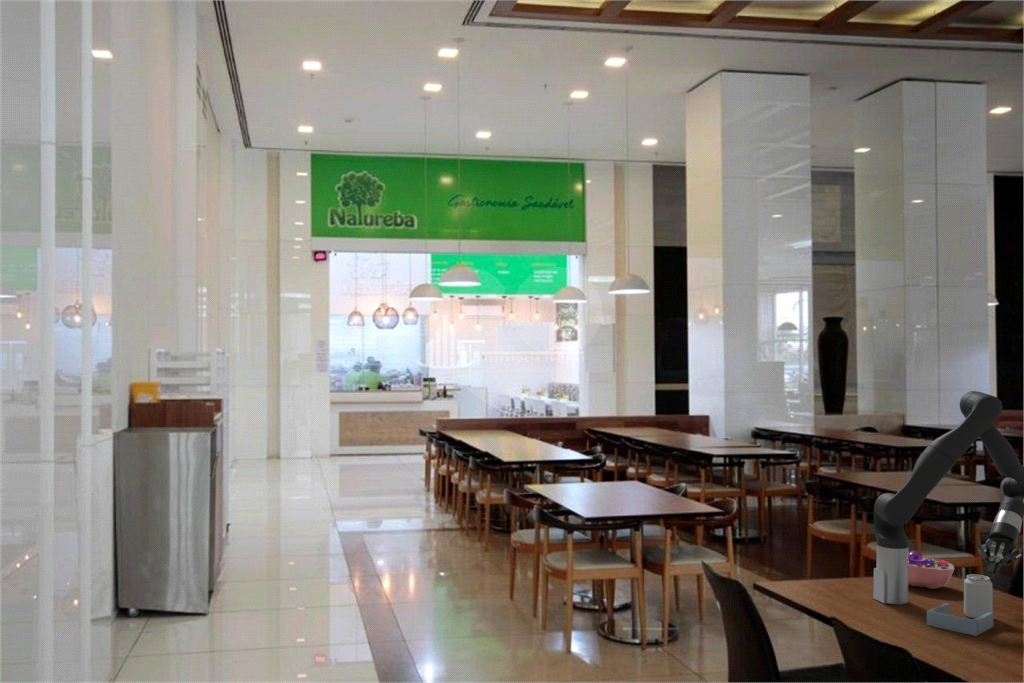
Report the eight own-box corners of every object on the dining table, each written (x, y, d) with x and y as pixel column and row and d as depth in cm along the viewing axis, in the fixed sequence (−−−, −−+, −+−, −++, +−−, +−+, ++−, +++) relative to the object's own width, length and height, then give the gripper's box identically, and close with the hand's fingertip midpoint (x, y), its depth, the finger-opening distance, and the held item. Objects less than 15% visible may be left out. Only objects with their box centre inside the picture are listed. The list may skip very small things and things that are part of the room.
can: (995, 621, 267) (995, 580, 267) (967, 619, 269) (968, 578, 269) (987, 614, 274) (988, 574, 275) (960, 612, 276) (961, 572, 276)
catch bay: (945, 616, 272) (945, 602, 272) (993, 626, 262) (993, 612, 262) (926, 624, 263) (926, 610, 263) (975, 635, 253) (976, 621, 253)
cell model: (932, 597, 293) (932, 561, 293) (881, 583, 311) (881, 549, 311) (967, 591, 301) (967, 556, 301) (915, 577, 319) (915, 545, 319)
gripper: (980, 518, 290) (965, 563, 282) (1026, 524, 280) (1011, 571, 272) (986, 532, 294) (972, 577, 285) (1032, 539, 284) (1018, 585, 276)
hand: (991, 574), depth 279 cm, fingers closed
